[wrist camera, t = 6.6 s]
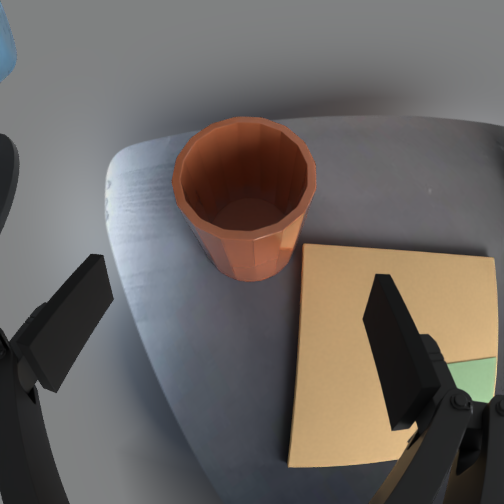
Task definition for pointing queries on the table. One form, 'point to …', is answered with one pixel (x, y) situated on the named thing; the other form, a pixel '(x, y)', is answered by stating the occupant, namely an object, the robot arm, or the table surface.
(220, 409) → the table surface
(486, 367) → the pad
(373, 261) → the mat
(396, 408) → the robot arm
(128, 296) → the table surface
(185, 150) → the cup
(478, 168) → the table surface
